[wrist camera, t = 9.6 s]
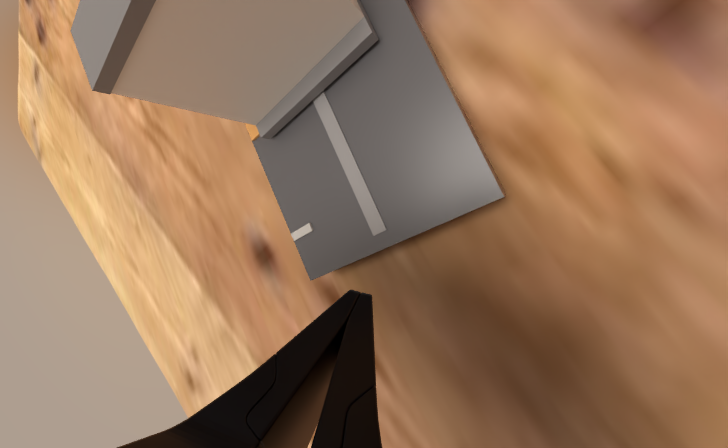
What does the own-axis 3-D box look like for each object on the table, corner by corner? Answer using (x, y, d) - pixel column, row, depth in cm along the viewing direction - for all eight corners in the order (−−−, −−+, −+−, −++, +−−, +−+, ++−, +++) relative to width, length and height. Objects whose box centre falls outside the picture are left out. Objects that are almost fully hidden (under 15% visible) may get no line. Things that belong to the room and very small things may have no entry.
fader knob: (379, 38, 15) (215, -135, 7) (269, 139, 20) (99, 109, 12) (343, -36, 15) (149, -283, 7) (244, 81, 20) (64, 13, 12)
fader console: (506, 194, 16) (504, 197, 13) (334, 269, 23) (308, 281, 20) (385, -43, 17) (361, -86, 15) (259, 94, 24) (226, 83, 22)
